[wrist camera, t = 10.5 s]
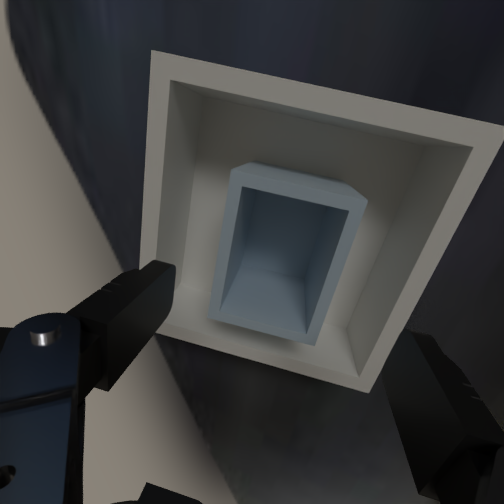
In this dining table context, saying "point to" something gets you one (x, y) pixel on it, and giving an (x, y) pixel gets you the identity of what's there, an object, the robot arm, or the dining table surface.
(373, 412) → the dining table surface
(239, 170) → the small crate
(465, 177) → the large crate
